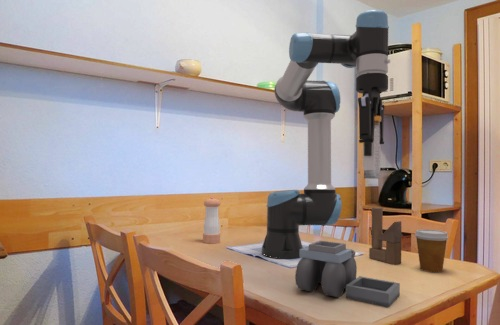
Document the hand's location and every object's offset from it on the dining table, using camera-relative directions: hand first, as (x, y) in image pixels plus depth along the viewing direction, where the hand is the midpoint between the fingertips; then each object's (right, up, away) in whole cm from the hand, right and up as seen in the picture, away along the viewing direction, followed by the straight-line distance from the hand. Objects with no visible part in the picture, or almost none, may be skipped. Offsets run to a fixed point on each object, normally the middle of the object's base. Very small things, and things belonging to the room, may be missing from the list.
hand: (371, 169), depth 91 cm
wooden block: (+16, -32, +36) cm, 51 cm away
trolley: (-10, -31, +5) cm, 33 cm away
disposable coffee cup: (+27, -32, +25) cm, 49 cm away
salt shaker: (-46, -32, +67) cm, 88 cm away
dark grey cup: (-5, -31, +12) cm, 34 cm away
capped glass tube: (0, -2, 0) cm, 2 cm away
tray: (0, -31, -1) cm, 31 cm away
